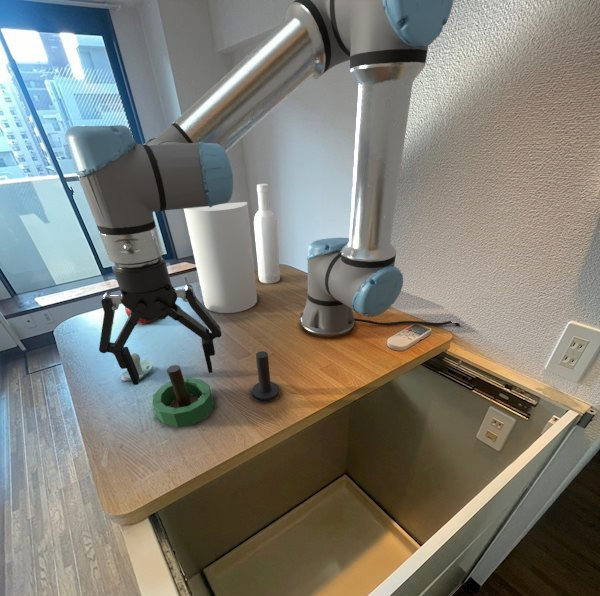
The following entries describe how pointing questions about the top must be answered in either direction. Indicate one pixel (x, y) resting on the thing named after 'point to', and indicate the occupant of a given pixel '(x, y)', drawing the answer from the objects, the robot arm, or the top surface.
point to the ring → (183, 414)
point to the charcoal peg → (264, 380)
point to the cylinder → (223, 256)
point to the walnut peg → (179, 388)
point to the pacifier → (138, 367)
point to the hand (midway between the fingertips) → (174, 374)
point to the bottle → (266, 238)
